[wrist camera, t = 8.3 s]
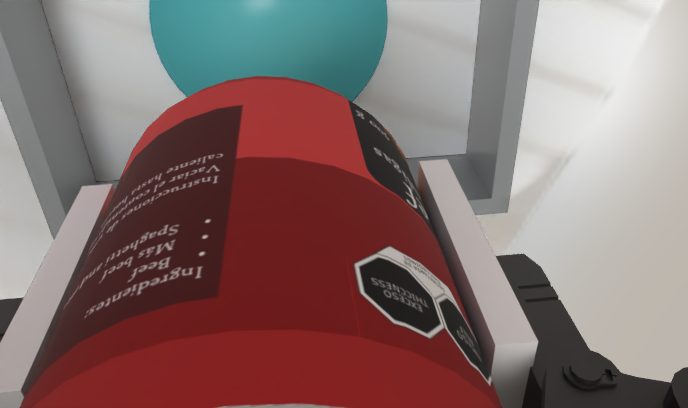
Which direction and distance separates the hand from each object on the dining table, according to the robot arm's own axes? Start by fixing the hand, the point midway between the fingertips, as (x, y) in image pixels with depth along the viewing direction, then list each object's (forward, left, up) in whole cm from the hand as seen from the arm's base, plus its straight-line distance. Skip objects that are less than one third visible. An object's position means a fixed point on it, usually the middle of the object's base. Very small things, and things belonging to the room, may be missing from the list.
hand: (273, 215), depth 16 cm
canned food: (0, 0, -1) cm, 1 cm away
